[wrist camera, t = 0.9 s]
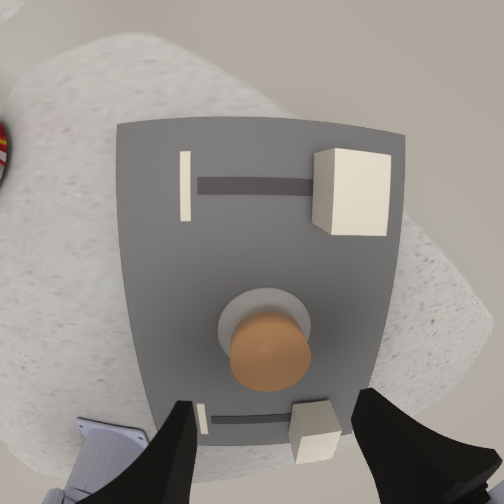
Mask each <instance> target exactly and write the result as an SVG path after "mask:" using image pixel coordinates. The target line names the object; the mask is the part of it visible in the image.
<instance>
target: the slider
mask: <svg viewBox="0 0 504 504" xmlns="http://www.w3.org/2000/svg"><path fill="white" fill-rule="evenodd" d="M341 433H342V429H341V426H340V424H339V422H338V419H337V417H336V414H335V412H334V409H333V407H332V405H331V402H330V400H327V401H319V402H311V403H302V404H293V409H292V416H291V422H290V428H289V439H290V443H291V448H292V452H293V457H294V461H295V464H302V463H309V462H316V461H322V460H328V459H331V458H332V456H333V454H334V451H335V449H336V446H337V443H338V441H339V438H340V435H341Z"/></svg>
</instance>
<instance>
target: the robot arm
mask: <svg viewBox="0 0 504 504" xmlns="http://www.w3.org/2000/svg"><path fill="white" fill-rule="evenodd" d="M350 420H351V424H352V427H353V431H354V434H355V437H356V440H357V442H358V444H359V446H360V449H361V451H362V453H363V455H364V457H365V459H366V462H367V464H368V466H369V468H370V470H371V473H372V475H373V478H374V480H375V484H376V488H377V491H378V494H379V499H380V503H381V504H504V480H503V481H502V482H500V483H499V484H498V485H496V486H495V487H494V488H492V489H491V490H490V491H489V492H488V493H487V491H486V490H485V489H486V488H487V487H488V484H487V483H486V481H487V480H488V479H489V478H490V477H491V476H492V475H493V474H494V472H495V471H496V470H497V469H498V468H499V467H500V465H501V464H502V459H501V458H500V456H499V455H498V454H497V452H496V451H495V450H494V449H489V448H483V447H477V446H472V445H468V444H465V443H461V442H458V441H455V440H453V439H450V438H448V437H445V436H443V435H440V434H438V433H436V432H434V431H432V430H430V429H429V428H427V427H425V426H423V425H422V424H420V423H419V422H417V421H416V420H414V419H412V418H411V417H410V416H408V415H407V414H405V413H404V412H403V411H401V410H400V409H399V408H397V407H396V406H395V405H393V404H392V403H391V402H390V401H388V400H387V399H386V398H385V397H383V396H382V395H381V394H380V393H379V392H377V391H376V390H375V389H373V388H366V389H361V390H360V391H359V395H358V398H357V401H356V404H355V407H354V410H353V413H352V416H351V419H350ZM76 424H77V425H78V427H79V429H80V431H81V433H82V435H83V436H84V438H85V441H84V443H83V445H82V448H81V450H80V452H79V455H78V457H77V459H76V462H75V464H74V467H73V469H72V471H71V474H70V476H69V479H68V482H67V484H66V487H65V489H64V490H61V489H59V488H55V489H50V490H49V492H48V493H47V494H46V496H45V498H44V500H43V502H42V504H189V497H190V489H191V482H192V476H193V470H194V464H195V458H196V452H197V432H198V430H197V425H196V420H195V414H194V408H193V402H192V401H182V400H178V401H176V402H175V404H174V406H173V408H172V410H171V412H170V414H169V415H168V417H167V419H166V420H165V422H164V423H163V425H162V426H161V428H160V429H159V431H158V432H157V434H156V435H155V437H154V438H153V439H152V441H151V442H150V443H148V441H147V438H146V436H145V433H144V432H143V431H141V430H136V429H130V428H123V427H118V426H112V425H107V424H102V423H97V422H93V421H88V420H84V419H80V418H77V419H76Z"/></svg>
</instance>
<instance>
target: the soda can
mask: <svg viewBox="0 0 504 504" xmlns="http://www.w3.org/2000/svg"><path fill="white" fill-rule="evenodd" d="M6 155H7V140H6V134H5V130H4V128H3V125H2V124H1V123H0V179H1V177H2V174H3V171H4V167H5V162H6Z"/></svg>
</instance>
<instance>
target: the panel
mask: <svg viewBox="0 0 504 504" xmlns="http://www.w3.org/2000/svg"><path fill="white" fill-rule="evenodd" d="M333 148H340V149H349V150H357V151H365V152H372V153H379V154H386V155H391V178H390V197H389V212H388V223H387V233H386V236H365V235H331V234H329V233H327V232H326V231H324V230H323V229H321V228H320V227H318V226H316V225H315V224H313V223H312V203H313V174H314V153H317V152H321V151H325V150H329V149H333ZM404 181H405V135H402V134H397V133H392V132H387V131H381V130H376V129H370V128H364V127H358V126H351V125H343V124H336V123H328V122H320V121H308V120H298V119H285V118H266V117H191V118H173V119H160V120H149V121H139V122H130V123H122V124H117V138H116V196H117V218H118V232H119V245H120V255H121V264H122V273H123V281H124V288H125V295H126V301H127V308H128V314H129V319H130V325H131V330H132V335H133V340H134V345H135V350H136V355H137V359H138V363H139V368H140V372H141V376H142V380H143V384H144V388H145V391H146V395H147V399H148V402H149V406H150V409H151V412H152V416H153V419H154V422H155V425H156V428H157V431H159V429H160V428H161V426H162V425H163V423H164V422H165V420H166V419H167V417H168V415H169V414H170V412H171V410H172V408H173V406H174V404H175V402H176V401H178V400H182V401H192V402H193V408H194V414H195V420H196V425H197V430H198V432H197V445H207V446H249V445H269V444H282V443H290V439H289V428H290V422H291V416H292V409H293V404H302V403H311V402H319V401H327V400H330V402H331V405H332V407H333V409H334V412H335V414H336V417H337V419H338V422H339V424H340V426H341V429H342V433H341V435H346V434H351V433H352V430H353V427H352V424H351V420H350V419H351V416H352V413H353V410H354V407H355V404H356V401H357V398H358V395H359V391H360V390H361V389H366V388H368V385H369V382H370V379H371V375H372V372H373V369H374V365H375V362H376V358H377V354H378V351H379V347H380V343H381V339H382V335H383V331H384V326H385V322H386V318H387V313H388V308H389V303H390V298H391V293H392V288H393V282H394V276H395V270H396V264H397V257H398V249H399V241H400V233H401V223H402V212H403V199H404ZM262 311H277V312H281V313H284V314H287V315H289V316H290V317H292V318H293V319H294V320H296V322H297V323H298V324H299V325H300V327H301V329H302V332H303V334H304V336H305V338H306V341H307V343H308V345H309V348H310V351H311V362H310V365H309V368H308V370H307V372H306V373H305V374H304V376H303V377H302V378H301V379H300V380H299V381H297V382H296V383H294V384H293V385H291V386H289V387H287V388H285V389H281V390H278V391H271V392H263V391H256V390H253V389H250V388H248V387H246V386H244V385H242V384H241V383H240V382H239V381H238V380H237V379H236V378H235V377H234V375H233V373H232V370H231V365H230V341H231V336H232V333H233V331H234V329H235V328H236V326H237V325H238V324H239V323H240V322H241V321H242V320H243V319H245V318H246V317H248V316H250V315H252V314H255V313H258V312H262ZM341 435H340V436H341Z"/></svg>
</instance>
